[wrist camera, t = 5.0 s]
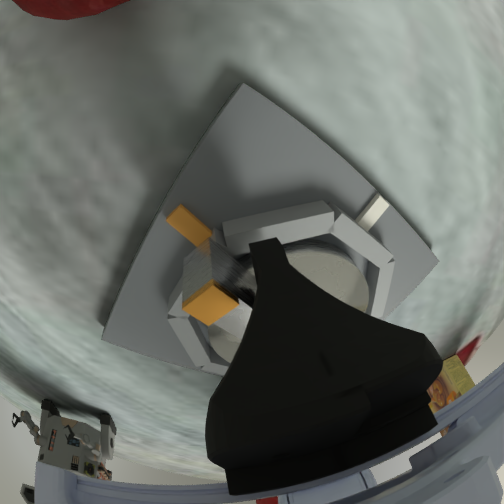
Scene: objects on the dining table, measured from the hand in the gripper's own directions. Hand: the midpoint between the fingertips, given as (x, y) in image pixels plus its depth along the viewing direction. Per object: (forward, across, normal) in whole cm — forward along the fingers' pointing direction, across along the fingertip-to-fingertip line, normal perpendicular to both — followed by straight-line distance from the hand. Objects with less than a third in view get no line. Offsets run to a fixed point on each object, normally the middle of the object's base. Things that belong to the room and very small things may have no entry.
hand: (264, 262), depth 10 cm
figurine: (+4, +23, +17) cm, 29 cm away
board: (+3, -1, +5) cm, 6 cm away
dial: (+2, 0, +4) cm, 5 cm away
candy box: (+4, -26, +34) cm, 43 cm away
